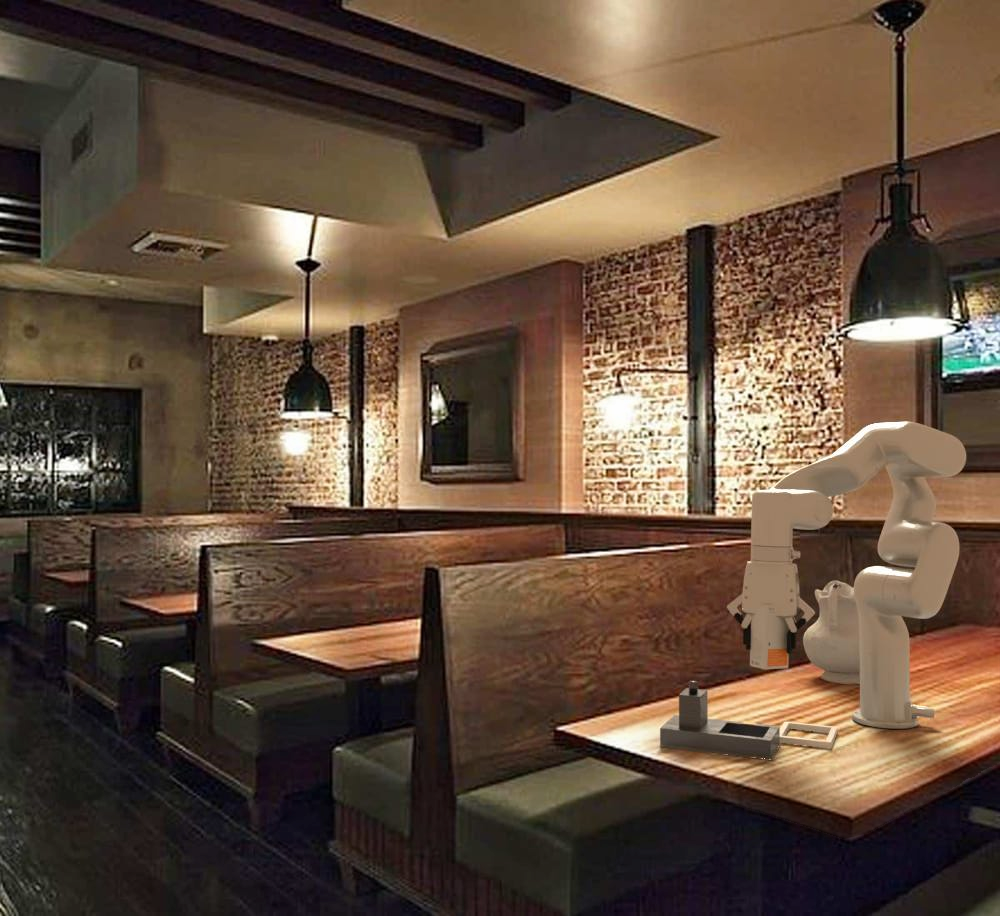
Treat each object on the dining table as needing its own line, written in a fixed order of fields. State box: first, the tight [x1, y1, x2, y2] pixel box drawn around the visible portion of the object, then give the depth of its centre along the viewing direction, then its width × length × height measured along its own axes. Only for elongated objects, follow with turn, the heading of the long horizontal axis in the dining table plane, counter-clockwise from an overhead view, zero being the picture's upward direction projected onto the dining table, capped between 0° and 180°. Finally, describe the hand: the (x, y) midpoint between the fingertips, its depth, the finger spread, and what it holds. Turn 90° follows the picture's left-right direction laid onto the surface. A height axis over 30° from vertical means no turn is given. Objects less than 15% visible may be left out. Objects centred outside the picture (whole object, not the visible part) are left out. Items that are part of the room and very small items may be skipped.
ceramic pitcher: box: [802, 579, 860, 686], centre depth 235 cm, size 22×20×25 cm
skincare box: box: [749, 604, 790, 671], centre depth 180 cm, size 6×4×12 cm
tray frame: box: [780, 721, 838, 750], centre depth 184 cm, size 10×12×1 cm
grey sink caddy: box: [659, 680, 781, 760], centre depth 179 cm, size 20×10×12 cm, turn 65°
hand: (769, 650), depth 180 cm, fingers closed on skincare box, 6 cm apart
